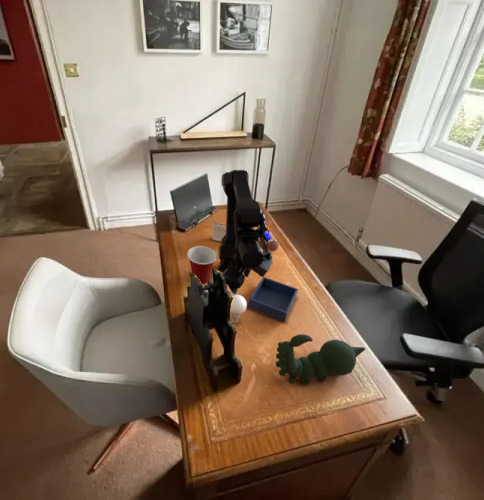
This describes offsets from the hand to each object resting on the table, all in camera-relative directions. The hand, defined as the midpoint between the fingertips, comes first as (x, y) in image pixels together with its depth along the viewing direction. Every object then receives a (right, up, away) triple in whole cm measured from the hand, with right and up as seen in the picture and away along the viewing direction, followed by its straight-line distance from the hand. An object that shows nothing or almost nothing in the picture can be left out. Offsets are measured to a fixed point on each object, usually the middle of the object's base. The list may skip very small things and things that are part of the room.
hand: (240, 284), depth 101 cm
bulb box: (+12, -8, +11) cm, 18 cm away
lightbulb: (-2, -13, +3) cm, 13 cm away
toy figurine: (+20, -24, -11) cm, 33 cm away
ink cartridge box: (-4, +15, +41) cm, 44 cm away
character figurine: (+14, +13, +39) cm, 44 cm away
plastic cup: (-13, 0, +20) cm, 24 cm away
